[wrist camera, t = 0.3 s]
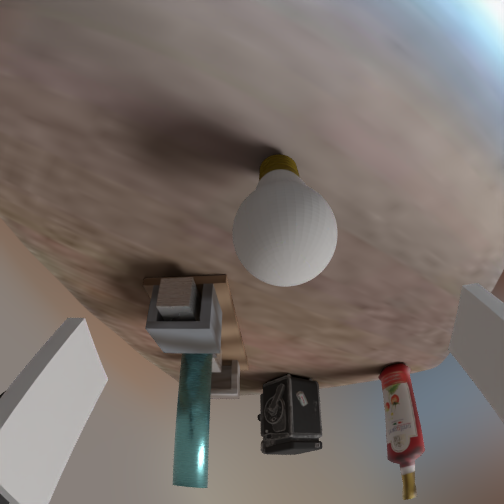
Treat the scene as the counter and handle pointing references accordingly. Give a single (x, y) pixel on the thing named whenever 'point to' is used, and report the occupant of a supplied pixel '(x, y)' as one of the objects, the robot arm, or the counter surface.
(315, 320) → the counter surface
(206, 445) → the tube
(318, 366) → the counter surface
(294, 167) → the light bulb
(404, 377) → the liquor
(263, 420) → the camera
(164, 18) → the counter surface
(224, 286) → the bench
